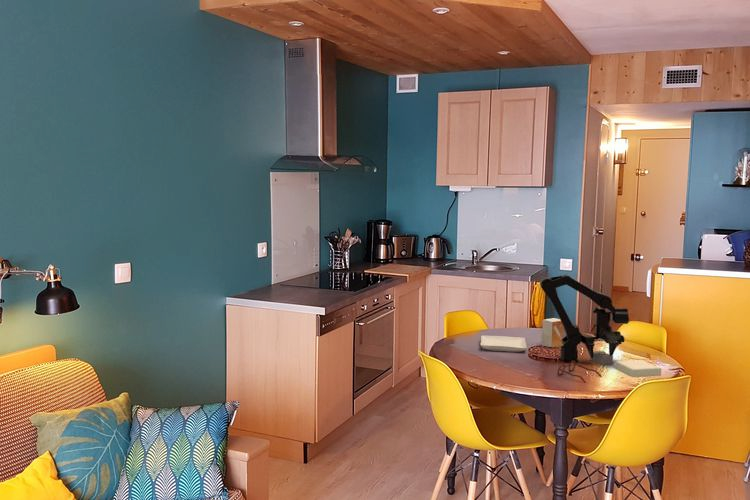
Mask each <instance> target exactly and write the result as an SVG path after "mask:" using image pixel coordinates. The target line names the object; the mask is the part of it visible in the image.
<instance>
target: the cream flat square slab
mask: <svg viewBox="0 0 750 500" xmlns="http://www.w3.org/2000/svg"><path fill="white" fill-rule="evenodd" d="M480 339H481V340H480V347H482V349H485V350H487V351H494V352H512V353H514V352H516V353H518V352H524V351H525V350H527V348H528V346H527V343H526V339H525V337H518V336H505V335H504V336H503V335H481V336H480Z"/></svg>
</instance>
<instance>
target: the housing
mask: <svg viewBox="0 0 750 500" xmlns="http://www.w3.org/2000/svg"><path fill="white" fill-rule="evenodd" d="M589 360H590V361H592V362H594V363H597V364H599V365H601V366H611V365H614V363H613V362H614V355H613V356H612V355H609V353H606V351H603V350H596V351H595V350H593V359H592V358H591V357H590V356H589Z"/></svg>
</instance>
